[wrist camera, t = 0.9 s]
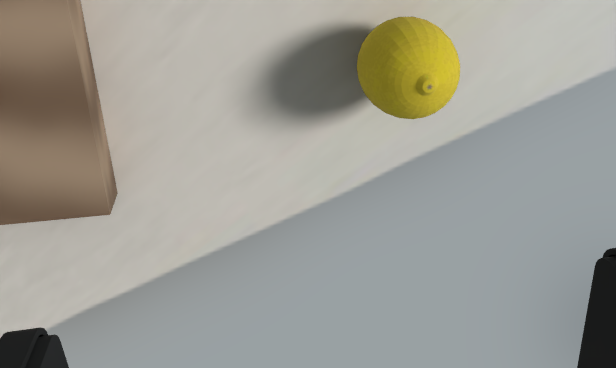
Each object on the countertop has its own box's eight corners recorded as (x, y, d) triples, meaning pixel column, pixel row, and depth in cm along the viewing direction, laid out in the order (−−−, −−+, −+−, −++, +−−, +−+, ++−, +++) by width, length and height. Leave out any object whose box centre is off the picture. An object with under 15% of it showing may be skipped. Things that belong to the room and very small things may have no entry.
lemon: (352, 103, 38) (383, 148, 31) (338, 17, 36) (369, 44, 29) (434, 84, 39) (484, 125, 31) (426, -2, 36) (478, 20, 29)
